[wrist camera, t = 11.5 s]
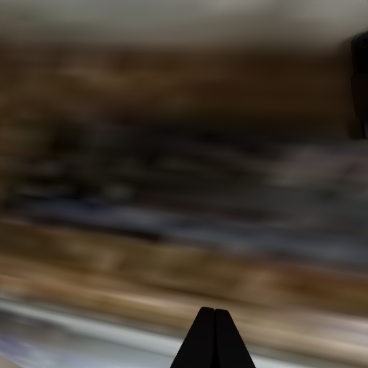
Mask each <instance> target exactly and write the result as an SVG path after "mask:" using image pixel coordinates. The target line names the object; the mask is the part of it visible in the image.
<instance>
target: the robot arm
mask: <svg viewBox="0 0 368 368" xmlns="http://www.w3.org/2000/svg"><path fill="white" fill-rule="evenodd" d="M362 39H363V40H364V41H365V45H364V47H362V48H360V47H359V42H360V40H362ZM351 51H352V58H353V66H354V74H353V75H352V77H351V85H352V93H353V100H354V107H355V114H356V117H358V118H360V119H361V126H362V134H363V137H364V138H365V139H366V140H368V32H365V33H363V34H360V35H358V36H356V37H355V38H354V39H353V41H352V43H351ZM170 368H256V367H255V365H254V363H253V361H252V359H251V357H250V354H249V352H248V350H247V348H246V346H245V344H244V342H243V340H242V338H241V336H240V334H239V332H238V330H237V328H236V326H235V324H234V322H233V319H232V317H231V315H230V313H229V312H228V311H227V310H223V309H215V311H214V309H213V308H209V307H201V309H200V310H199V312H198V314H197V316H196V318H195V320H194V322H193V324H192V326H191V328H190V330H189V332H188V334H187V336H186V338H185V339H184V341H183V343H182V345H181V347H180V349H179V351H178V353H177V355H176V357H175V359H174V361H173V363H172V365H171V367H170Z"/></svg>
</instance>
